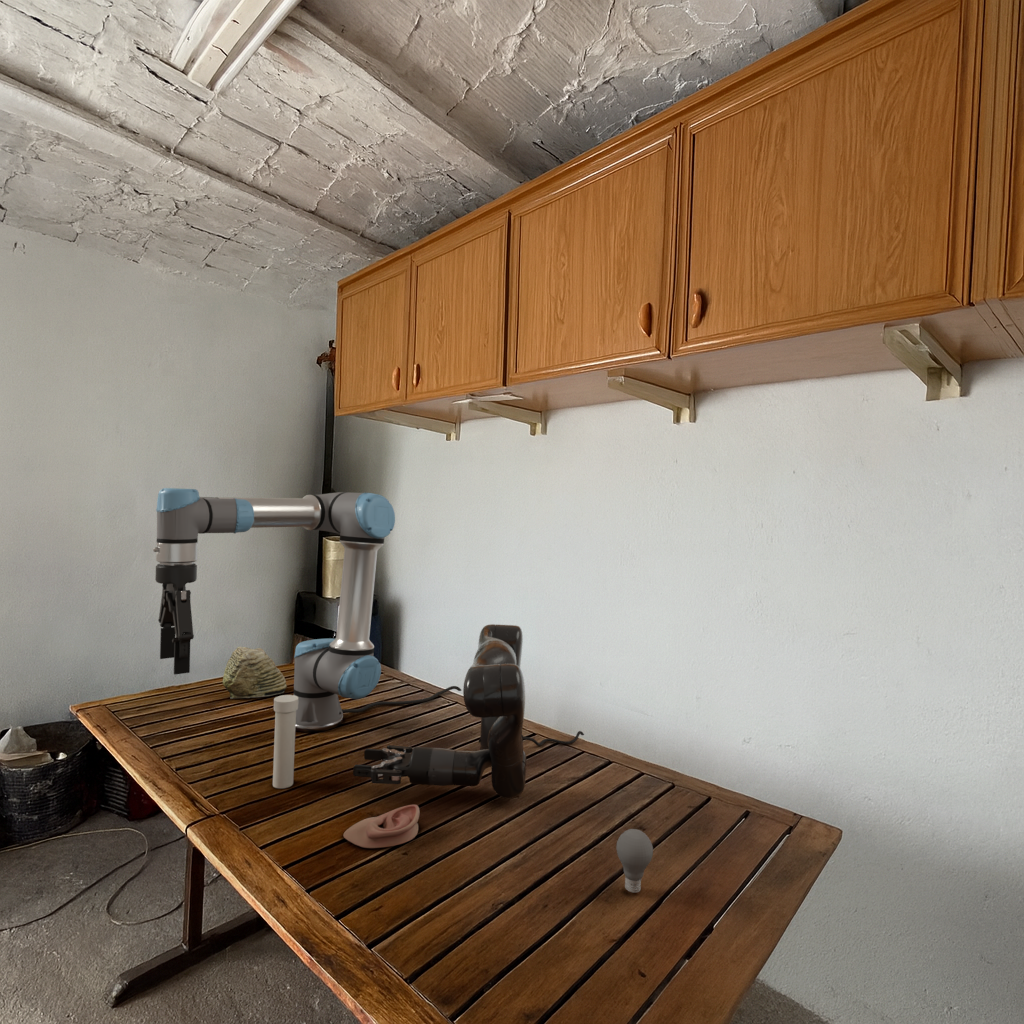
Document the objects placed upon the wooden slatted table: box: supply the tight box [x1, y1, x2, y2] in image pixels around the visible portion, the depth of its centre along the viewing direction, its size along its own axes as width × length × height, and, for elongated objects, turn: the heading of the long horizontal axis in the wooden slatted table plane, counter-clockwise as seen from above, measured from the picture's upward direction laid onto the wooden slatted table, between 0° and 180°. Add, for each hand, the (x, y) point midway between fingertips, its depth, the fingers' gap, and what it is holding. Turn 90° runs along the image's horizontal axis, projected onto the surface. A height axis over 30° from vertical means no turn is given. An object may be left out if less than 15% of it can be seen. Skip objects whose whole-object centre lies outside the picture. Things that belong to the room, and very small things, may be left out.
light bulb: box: [615, 828, 654, 894], centre depth 106 cm, size 6×6×10 cm
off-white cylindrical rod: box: [272, 711, 296, 789], centre depth 139 cm, size 4×4×18 cm
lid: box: [273, 694, 298, 713], centre depth 138 cm, size 5×5×2 cm
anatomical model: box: [342, 804, 421, 849], centre depth 120 cm, size 13×4×12 cm
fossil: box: [222, 646, 288, 699], centre depth 198 cm, size 9×18×15 cm, turn 132°
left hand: (174, 665), depth 131 cm, fingers open, 13 cm apart
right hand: (359, 761), depth 137 cm, fingers open, 8 cm apart
